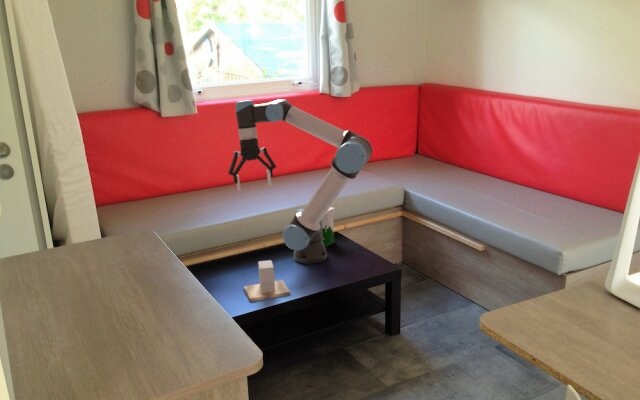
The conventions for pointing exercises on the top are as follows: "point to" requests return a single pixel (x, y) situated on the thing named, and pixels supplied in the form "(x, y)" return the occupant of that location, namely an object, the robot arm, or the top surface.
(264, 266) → the small box
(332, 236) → the milk carton
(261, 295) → the birch board
